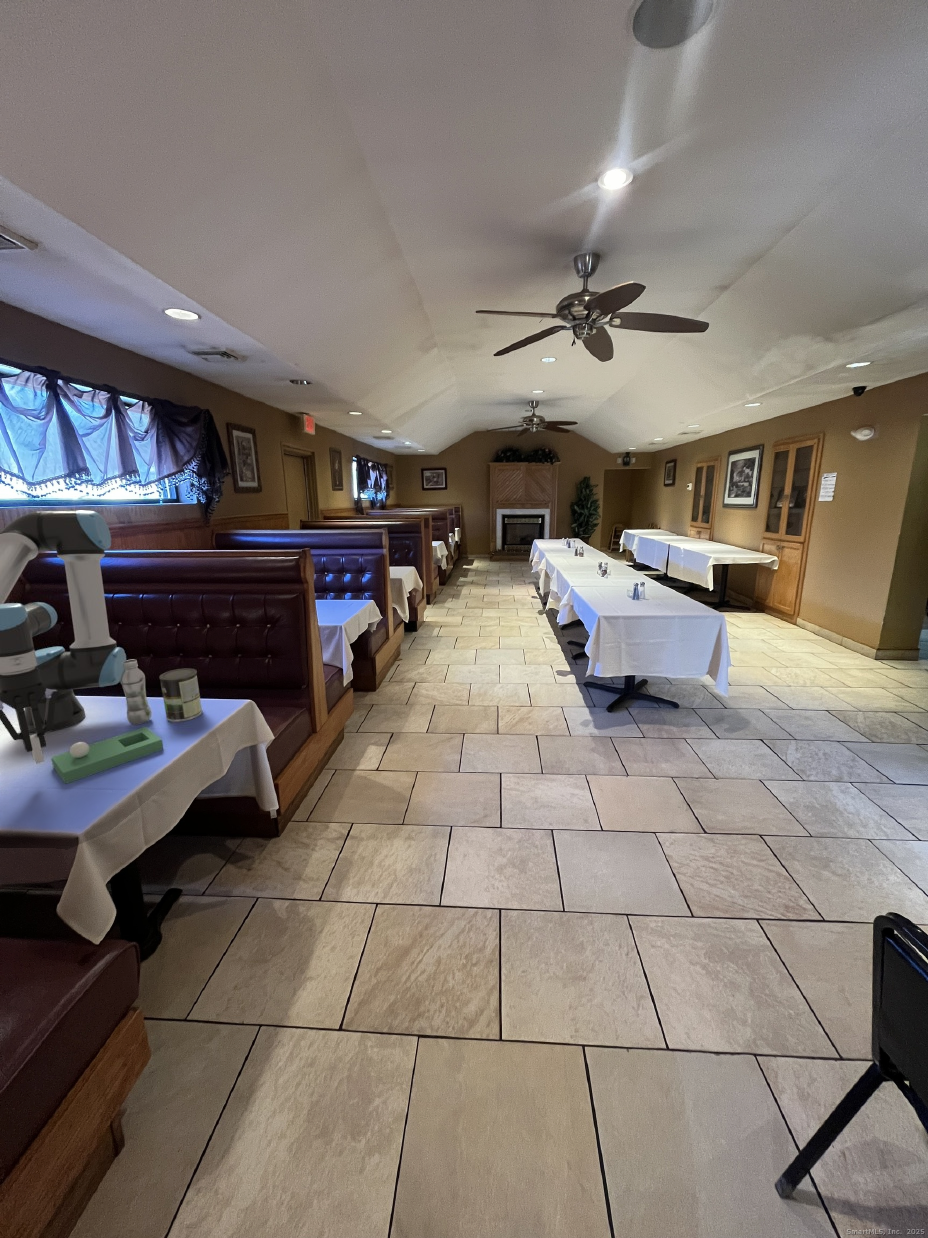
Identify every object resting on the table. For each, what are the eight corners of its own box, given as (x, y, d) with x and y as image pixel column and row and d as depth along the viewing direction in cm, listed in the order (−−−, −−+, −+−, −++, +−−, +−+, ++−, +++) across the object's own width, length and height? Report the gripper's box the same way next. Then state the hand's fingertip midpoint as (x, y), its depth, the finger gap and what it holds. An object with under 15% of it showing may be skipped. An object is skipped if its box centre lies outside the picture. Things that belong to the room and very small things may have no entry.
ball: (69, 757, 128) (66, 743, 127) (88, 751, 131) (85, 737, 130) (73, 762, 126) (70, 748, 125) (92, 756, 129) (89, 742, 128)
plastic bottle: (127, 729, 150) (115, 666, 145) (129, 720, 156) (117, 660, 151) (152, 724, 153) (141, 662, 148) (153, 715, 159) (142, 656, 154)
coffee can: (166, 724, 153) (158, 682, 149) (166, 712, 161) (159, 671, 158) (203, 717, 158) (197, 675, 154) (202, 705, 166) (196, 666, 163)
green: (53, 767, 129) (51, 757, 129) (147, 736, 146) (146, 726, 145) (65, 784, 122) (63, 773, 121) (163, 749, 138) (161, 739, 137)
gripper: (-18, 681, 109) (6, 777, 114) (56, 666, 119) (75, 755, 124) (-23, 674, 114) (0, 766, 119) (48, 659, 123) (67, 746, 129)
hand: (39, 760), depth 122 cm, fingers closed
